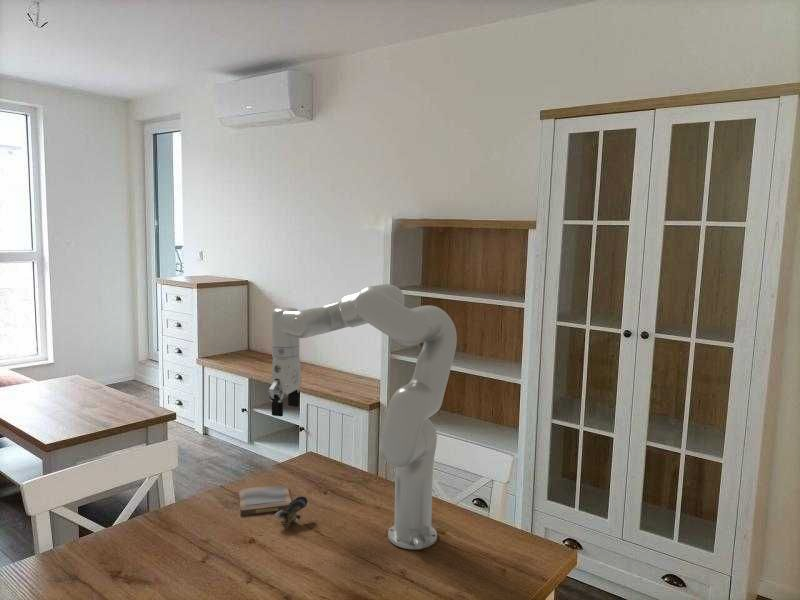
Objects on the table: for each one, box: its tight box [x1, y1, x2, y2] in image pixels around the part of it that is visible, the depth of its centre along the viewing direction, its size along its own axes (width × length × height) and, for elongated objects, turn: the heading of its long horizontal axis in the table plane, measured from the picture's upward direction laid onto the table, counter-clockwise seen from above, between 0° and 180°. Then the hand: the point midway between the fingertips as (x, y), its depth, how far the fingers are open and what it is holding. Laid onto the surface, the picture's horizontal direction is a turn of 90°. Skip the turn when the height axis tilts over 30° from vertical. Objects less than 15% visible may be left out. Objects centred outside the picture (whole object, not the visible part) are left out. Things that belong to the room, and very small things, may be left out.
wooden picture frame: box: [238, 483, 292, 516], centre depth 169 cm, size 14×14×2 cm
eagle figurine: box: [274, 496, 308, 531], centre depth 157 cm, size 8×7×9 cm
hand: (285, 410), depth 167 cm, fingers open, 9 cm apart
